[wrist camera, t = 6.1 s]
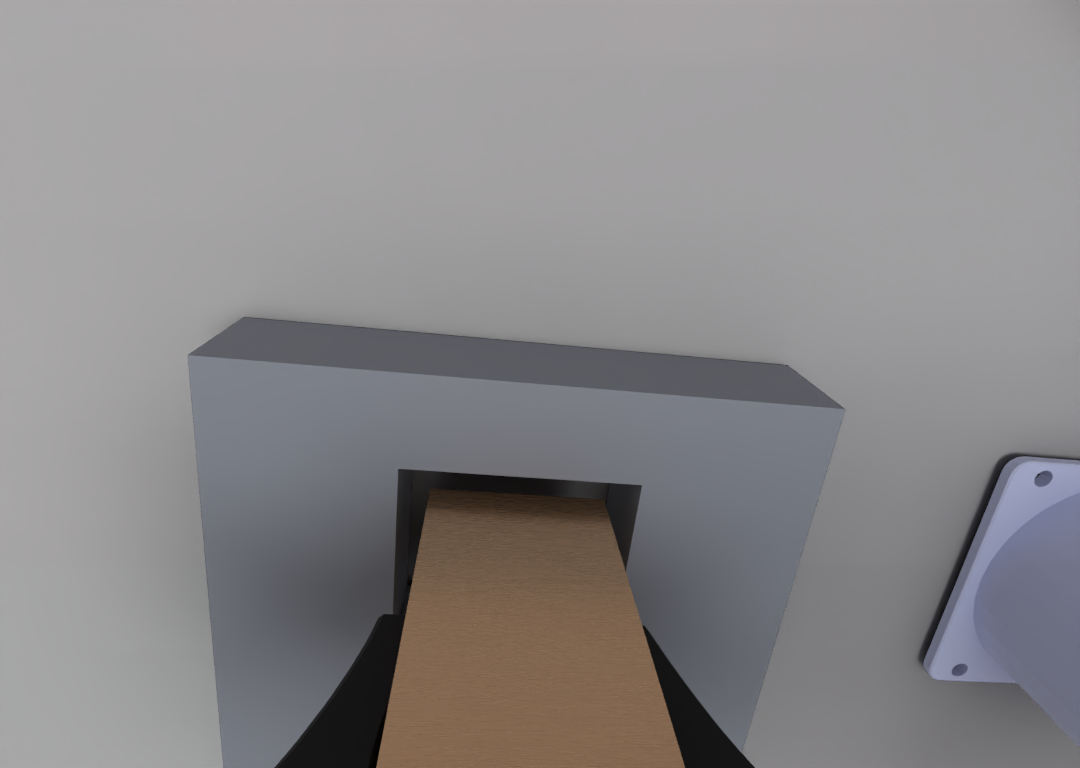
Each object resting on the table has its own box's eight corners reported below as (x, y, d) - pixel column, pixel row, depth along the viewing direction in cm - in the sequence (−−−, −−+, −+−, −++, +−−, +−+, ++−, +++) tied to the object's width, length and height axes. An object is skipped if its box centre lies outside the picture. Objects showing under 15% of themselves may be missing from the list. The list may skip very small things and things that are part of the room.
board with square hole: (787, 365, 17) (971, 504, 10) (676, 790, 22) (750, 1056, 16) (243, 317, 15) (58, 442, 9) (268, 782, 21) (165, 1070, 14)
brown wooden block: (604, 499, 15) (690, 784, 8) (581, 636, 16) (638, 973, 10) (429, 488, 14) (374, 779, 8) (421, 629, 16) (368, 976, 9)
